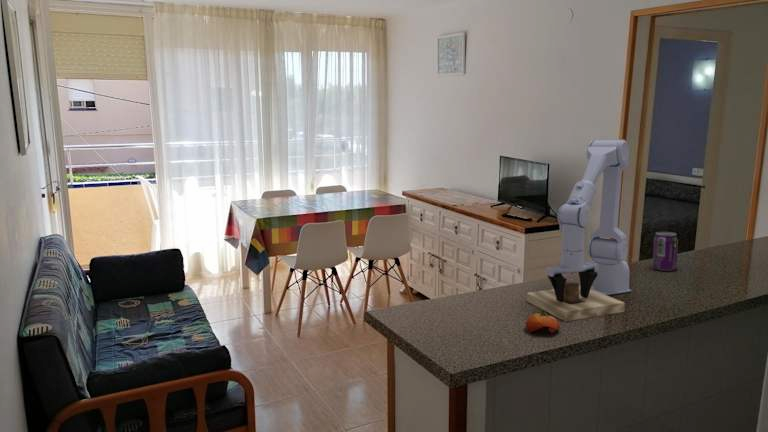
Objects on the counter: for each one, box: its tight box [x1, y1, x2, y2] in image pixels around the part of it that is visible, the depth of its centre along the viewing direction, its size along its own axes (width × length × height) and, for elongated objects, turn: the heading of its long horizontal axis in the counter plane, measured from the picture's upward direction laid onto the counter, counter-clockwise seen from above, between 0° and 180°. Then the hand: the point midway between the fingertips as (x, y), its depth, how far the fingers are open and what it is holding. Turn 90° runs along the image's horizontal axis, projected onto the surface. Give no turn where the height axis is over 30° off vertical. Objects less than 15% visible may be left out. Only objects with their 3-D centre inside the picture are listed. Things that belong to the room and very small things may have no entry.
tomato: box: [525, 310, 561, 335], centre depth 139 cm, size 8×7×7 cm
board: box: [526, 284, 626, 322], centre depth 156 cm, size 18×18×2 cm
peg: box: [564, 281, 580, 304], centre depth 153 cm, size 4×4×7 cm
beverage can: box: [652, 231, 679, 272], centre depth 188 cm, size 7×7×12 cm
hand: (572, 299), depth 153 cm, fingers open, 7 cm apart
